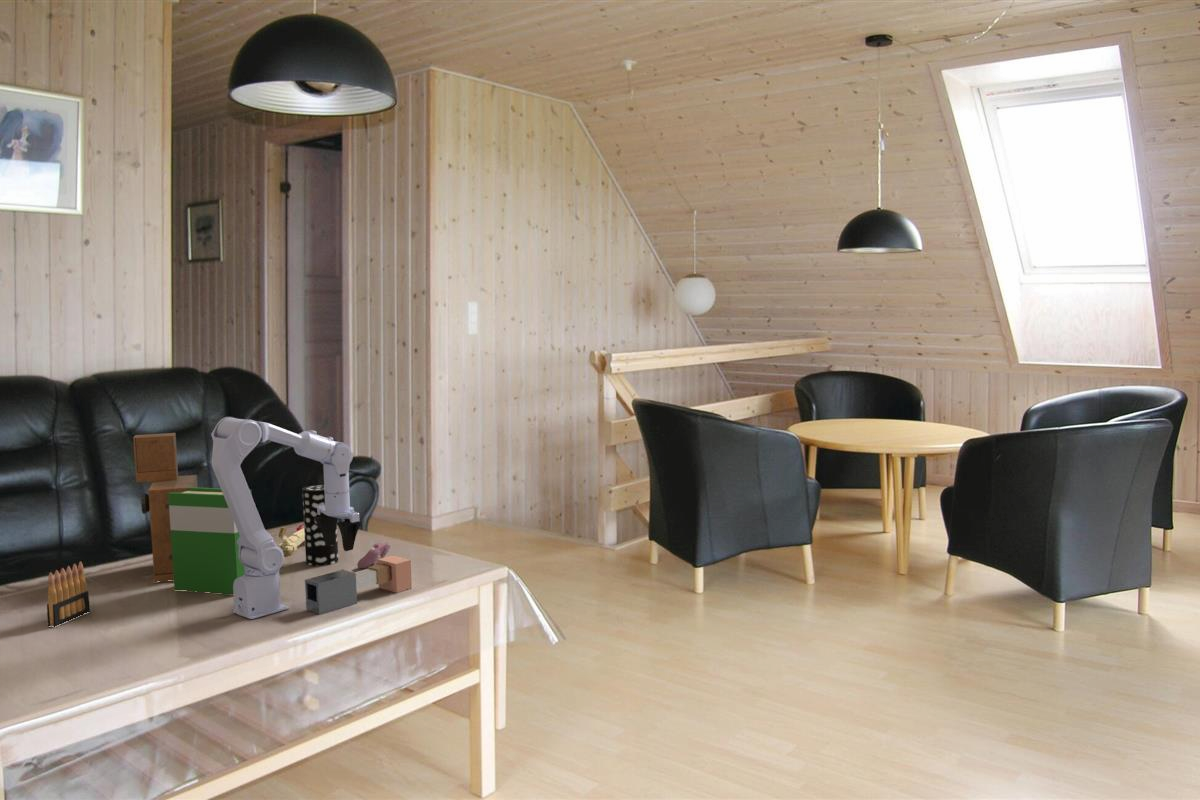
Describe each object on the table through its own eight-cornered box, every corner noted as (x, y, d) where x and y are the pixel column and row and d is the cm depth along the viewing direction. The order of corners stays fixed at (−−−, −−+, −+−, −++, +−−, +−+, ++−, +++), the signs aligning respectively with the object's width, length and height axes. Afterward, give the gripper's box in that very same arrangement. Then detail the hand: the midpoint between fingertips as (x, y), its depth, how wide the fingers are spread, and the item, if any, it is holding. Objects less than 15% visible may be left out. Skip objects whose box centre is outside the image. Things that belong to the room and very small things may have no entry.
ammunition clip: (55, 628, 211) (50, 573, 209) (47, 627, 211) (43, 573, 210) (90, 612, 221) (86, 560, 220) (83, 611, 221) (79, 560, 220)
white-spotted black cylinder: (345, 560, 262) (341, 486, 259) (320, 567, 255) (317, 492, 252) (323, 556, 266) (320, 483, 264) (299, 563, 259) (295, 489, 257)
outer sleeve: (319, 614, 216) (317, 583, 216) (306, 610, 220) (304, 579, 219) (357, 603, 224) (355, 573, 223) (344, 599, 227) (342, 569, 226)
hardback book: (174, 590, 236) (168, 493, 234) (194, 582, 243) (188, 487, 241) (238, 595, 232) (232, 495, 229) (256, 586, 239) (251, 489, 236)
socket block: (397, 592, 231) (395, 564, 231) (378, 587, 236) (377, 559, 235) (411, 588, 235) (410, 560, 234) (393, 583, 239) (392, 555, 239)
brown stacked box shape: (144, 565, 260) (136, 434, 256) (202, 559, 265) (194, 431, 261) (136, 584, 242) (126, 444, 238) (198, 578, 247) (189, 440, 243)
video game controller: (370, 575, 252) (380, 552, 251) (354, 567, 253) (365, 544, 251) (385, 565, 262) (395, 542, 261) (370, 557, 262) (380, 534, 261)
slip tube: (341, 594, 222) (341, 579, 221) (332, 591, 224) (331, 576, 224) (400, 578, 234) (400, 563, 234) (391, 575, 236) (390, 561, 236)
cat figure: (298, 561, 267) (345, 532, 290) (294, 530, 265) (342, 504, 289) (266, 559, 270) (315, 530, 293) (263, 528, 268) (313, 502, 292)
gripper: (369, 492, 231) (371, 549, 232) (333, 485, 240) (336, 539, 241) (343, 497, 225) (346, 555, 227) (308, 489, 235) (311, 545, 236)
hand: (339, 547), depth 234 cm, fingers open, 7 cm apart
